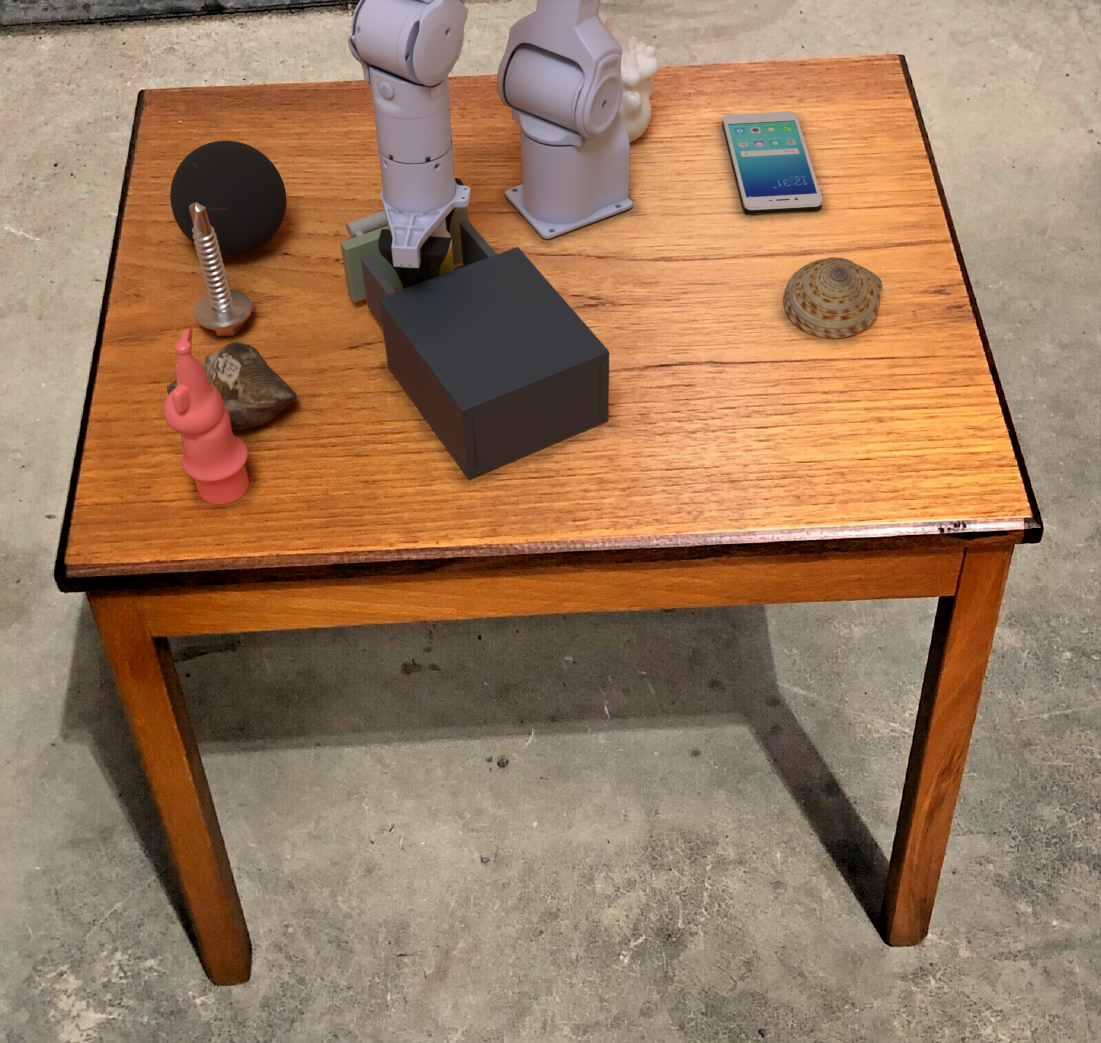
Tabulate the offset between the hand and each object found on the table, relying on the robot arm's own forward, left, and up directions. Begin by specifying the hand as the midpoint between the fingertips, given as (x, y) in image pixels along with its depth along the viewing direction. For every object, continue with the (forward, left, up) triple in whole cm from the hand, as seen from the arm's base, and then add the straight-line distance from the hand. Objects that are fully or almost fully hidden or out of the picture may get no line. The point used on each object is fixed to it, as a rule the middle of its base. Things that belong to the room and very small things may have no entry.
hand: (427, 282), depth 120 cm
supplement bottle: (0, 0, -2) cm, 2 cm away
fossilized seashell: (+19, +2, -4) cm, 19 cm away
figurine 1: (+23, +9, -4) cm, 25 cm away
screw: (+16, -8, -4) cm, 18 cm away
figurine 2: (-27, -14, -4) cm, 31 cm away
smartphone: (-37, -3, -4) cm, 38 cm away
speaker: (+11, -18, -4) cm, 21 cm away
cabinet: (0, +11, -4) cm, 12 cm away
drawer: (0, -1, -3) cm, 3 cm away
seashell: (-30, +16, -4) cm, 35 cm away
